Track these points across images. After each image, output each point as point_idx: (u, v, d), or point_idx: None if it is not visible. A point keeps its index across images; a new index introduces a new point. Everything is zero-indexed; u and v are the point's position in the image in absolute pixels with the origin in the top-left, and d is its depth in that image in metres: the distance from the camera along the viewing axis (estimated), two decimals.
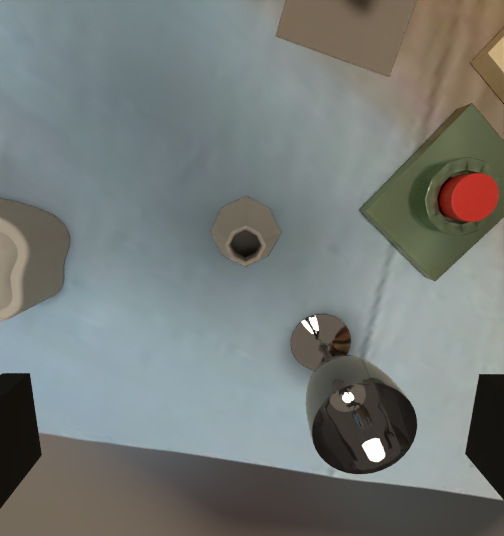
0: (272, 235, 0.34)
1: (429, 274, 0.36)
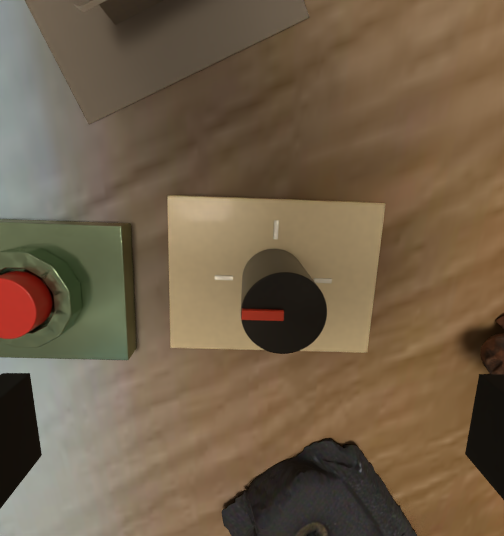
0: None
1: None
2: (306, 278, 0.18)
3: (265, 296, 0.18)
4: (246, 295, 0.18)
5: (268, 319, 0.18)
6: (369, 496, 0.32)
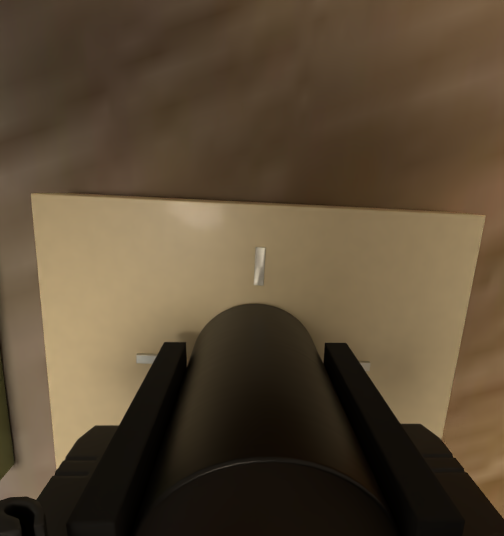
0: None
1: None
2: (342, 476, 0.05)
3: (201, 530, 0.05)
4: (139, 525, 0.05)
5: None
6: None
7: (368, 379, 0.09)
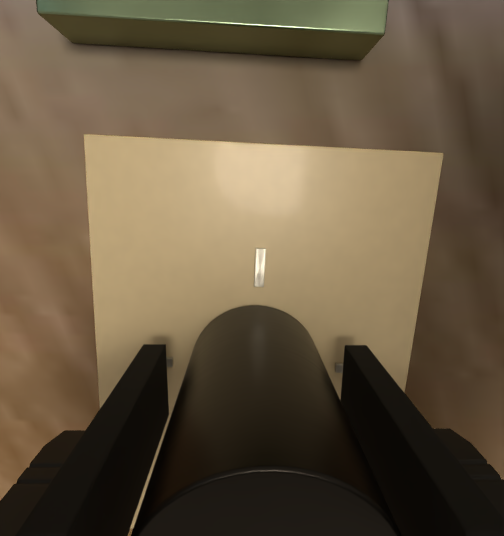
0: None
1: None
2: (345, 486, 0.05)
3: None
4: None
5: None
6: None
7: (394, 383, 0.09)
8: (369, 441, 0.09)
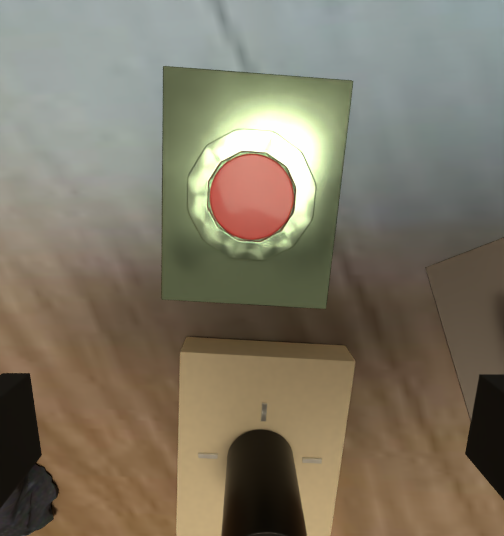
0: None
1: (181, 69, 0.19)
2: None
3: None
4: None
5: None
6: None
7: None
8: None
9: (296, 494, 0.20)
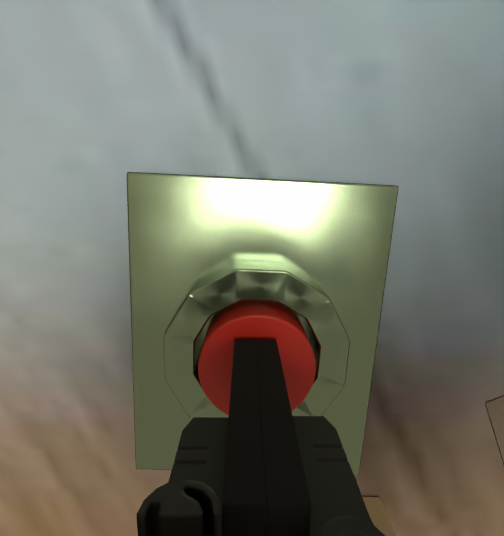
0: None
1: (152, 176, 0.13)
2: None
3: None
4: None
5: None
6: None
7: (281, 373, 0.10)
8: None
9: None
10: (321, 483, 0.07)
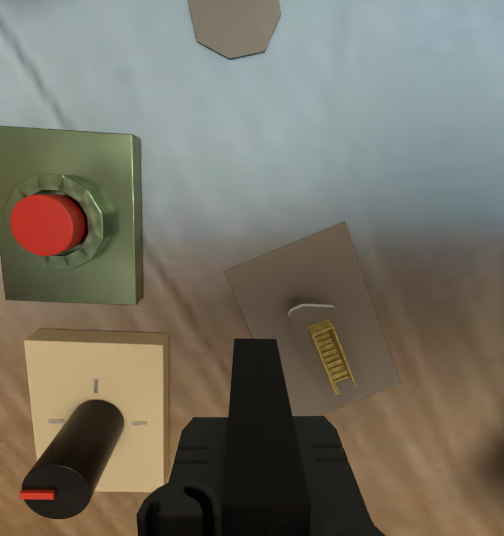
0: (204, 12, 0.23)
1: None
2: (70, 468, 0.24)
3: (38, 481, 0.24)
4: (24, 480, 0.24)
5: (41, 499, 0.24)
6: None
7: (281, 373, 0.10)
8: None
9: (99, 443, 0.27)
10: (321, 483, 0.07)
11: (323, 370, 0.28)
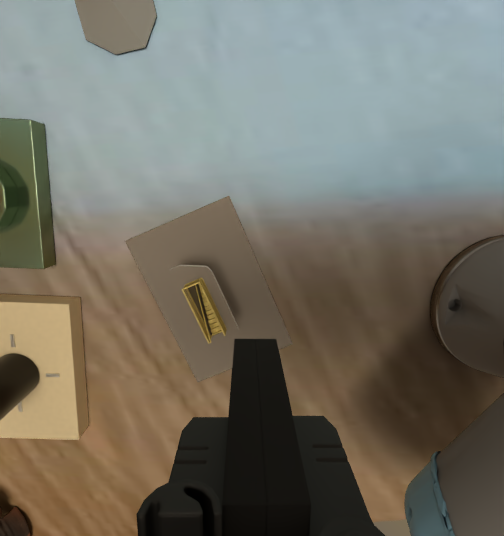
0: (80, 15, 0.28)
1: None
2: None
3: None
4: None
5: None
6: None
7: (281, 373, 0.10)
8: None
9: (4, 385, 0.31)
10: (321, 483, 0.07)
11: (202, 324, 0.32)
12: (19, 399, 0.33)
